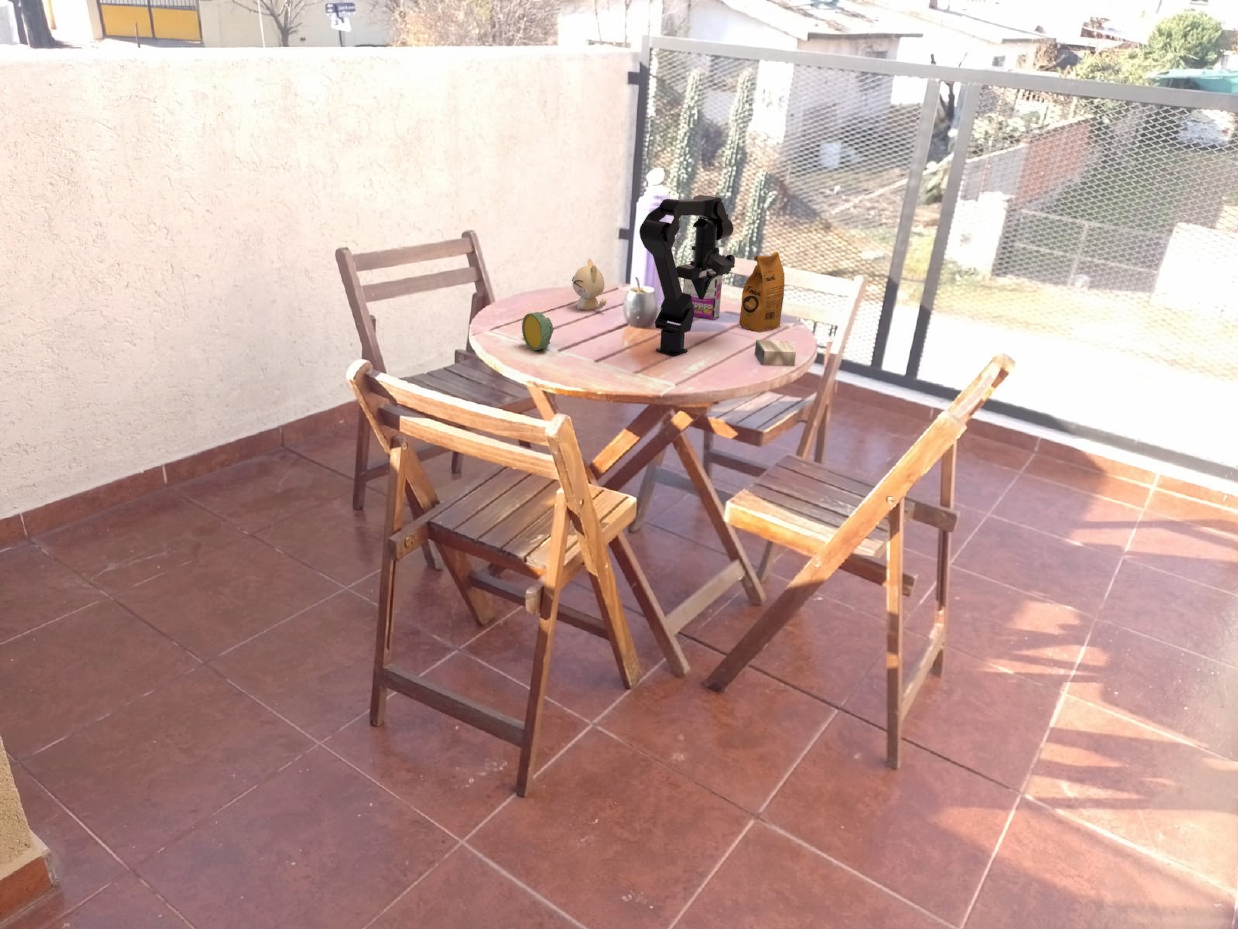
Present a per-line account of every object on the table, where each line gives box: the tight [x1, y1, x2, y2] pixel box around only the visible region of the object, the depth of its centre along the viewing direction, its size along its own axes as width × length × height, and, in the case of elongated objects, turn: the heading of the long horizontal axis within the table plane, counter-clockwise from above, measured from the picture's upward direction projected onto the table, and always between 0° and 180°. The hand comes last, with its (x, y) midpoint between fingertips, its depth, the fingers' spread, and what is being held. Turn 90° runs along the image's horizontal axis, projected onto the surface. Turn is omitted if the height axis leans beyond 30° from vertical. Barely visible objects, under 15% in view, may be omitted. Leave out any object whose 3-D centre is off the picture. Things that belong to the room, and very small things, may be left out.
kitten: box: [571, 258, 608, 311], centre depth 281 cm, size 15×10×15 cm
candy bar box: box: [682, 260, 723, 321], centre depth 279 cm, size 11×5×16 cm, turn 62°
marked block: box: [754, 339, 797, 367], centre depth 244 cm, size 4×10×9 cm
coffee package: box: [738, 251, 786, 333], centre depth 269 cm, size 10×12×22 cm
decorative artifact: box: [521, 311, 555, 351], centre depth 244 cm, size 10×7×10 cm
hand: (701, 299), depth 253 cm, fingers closed
